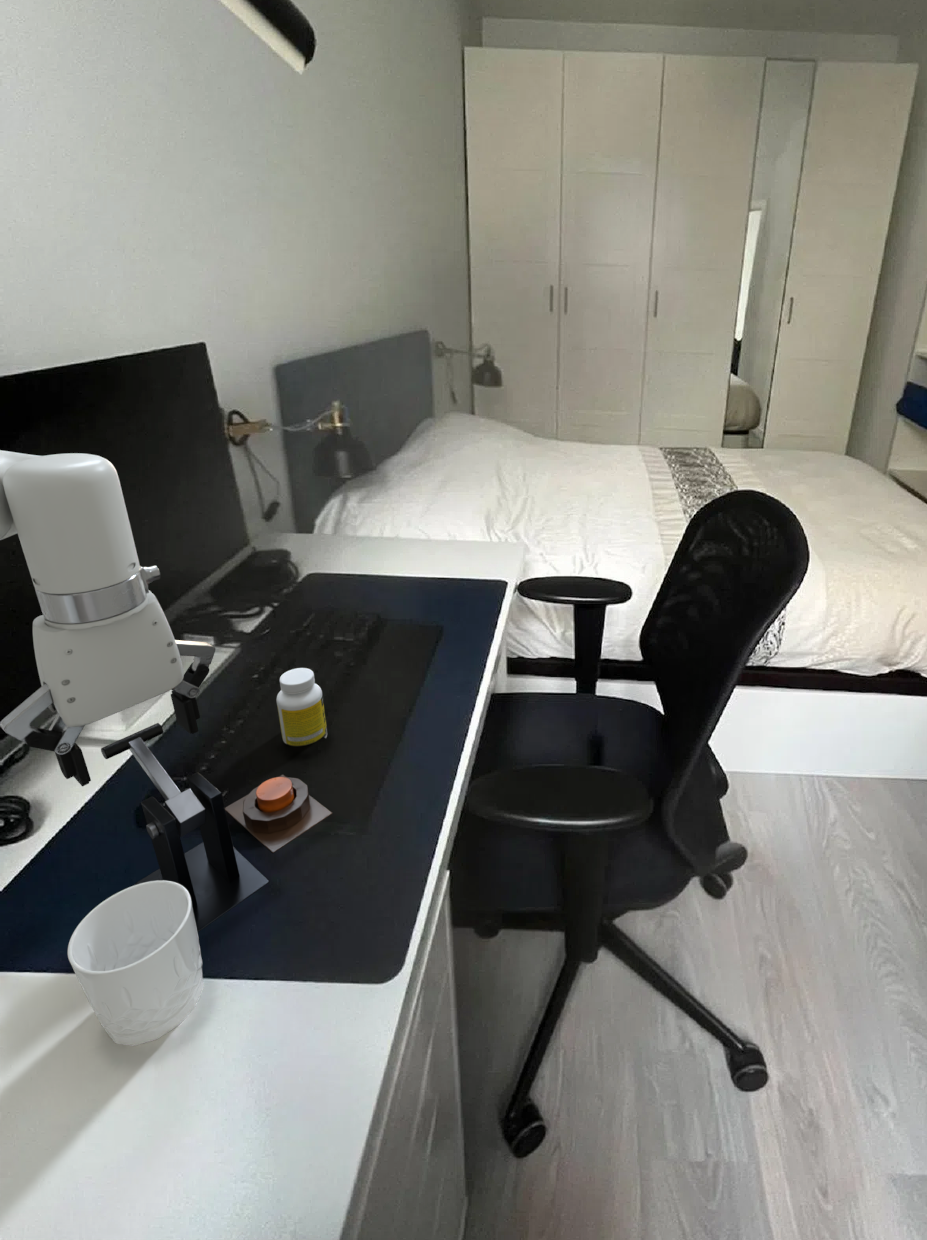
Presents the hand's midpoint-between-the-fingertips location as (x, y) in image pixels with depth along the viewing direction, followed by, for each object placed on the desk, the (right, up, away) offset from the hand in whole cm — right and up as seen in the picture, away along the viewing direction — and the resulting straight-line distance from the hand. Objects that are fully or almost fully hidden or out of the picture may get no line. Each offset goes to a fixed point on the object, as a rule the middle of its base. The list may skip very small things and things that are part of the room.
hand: (137, 751), depth 64 cm
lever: (+3, -3, -1) cm, 5 cm away
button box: (+10, -10, +9) cm, 17 cm away
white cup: (+9, -18, -10) cm, 23 cm away
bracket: (+7, -14, 0) cm, 15 cm away
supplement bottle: (+7, -5, +21) cm, 23 cm away
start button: (+10, -8, +8) cm, 15 cm away
